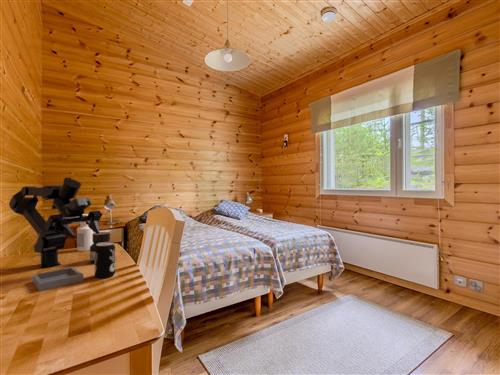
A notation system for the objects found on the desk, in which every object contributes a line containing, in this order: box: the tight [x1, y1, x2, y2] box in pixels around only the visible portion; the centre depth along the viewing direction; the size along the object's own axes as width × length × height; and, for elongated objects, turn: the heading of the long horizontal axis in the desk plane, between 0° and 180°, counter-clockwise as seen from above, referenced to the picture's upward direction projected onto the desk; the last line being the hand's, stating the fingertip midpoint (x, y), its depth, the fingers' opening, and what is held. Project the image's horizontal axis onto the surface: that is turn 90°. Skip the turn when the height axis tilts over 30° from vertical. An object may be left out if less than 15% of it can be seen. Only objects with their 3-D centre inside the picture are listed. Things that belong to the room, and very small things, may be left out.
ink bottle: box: [89, 231, 111, 264], centre depth 116 cm, size 10×9×12 cm
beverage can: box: [94, 241, 116, 280], centre depth 96 cm, size 7×7×12 cm
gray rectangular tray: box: [32, 266, 84, 292], centre depth 91 cm, size 12×12×2 cm
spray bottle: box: [76, 213, 94, 252], centre depth 134 cm, size 7×7×18 cm
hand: (86, 234), depth 98 cm, fingers open, 9 cm apart
